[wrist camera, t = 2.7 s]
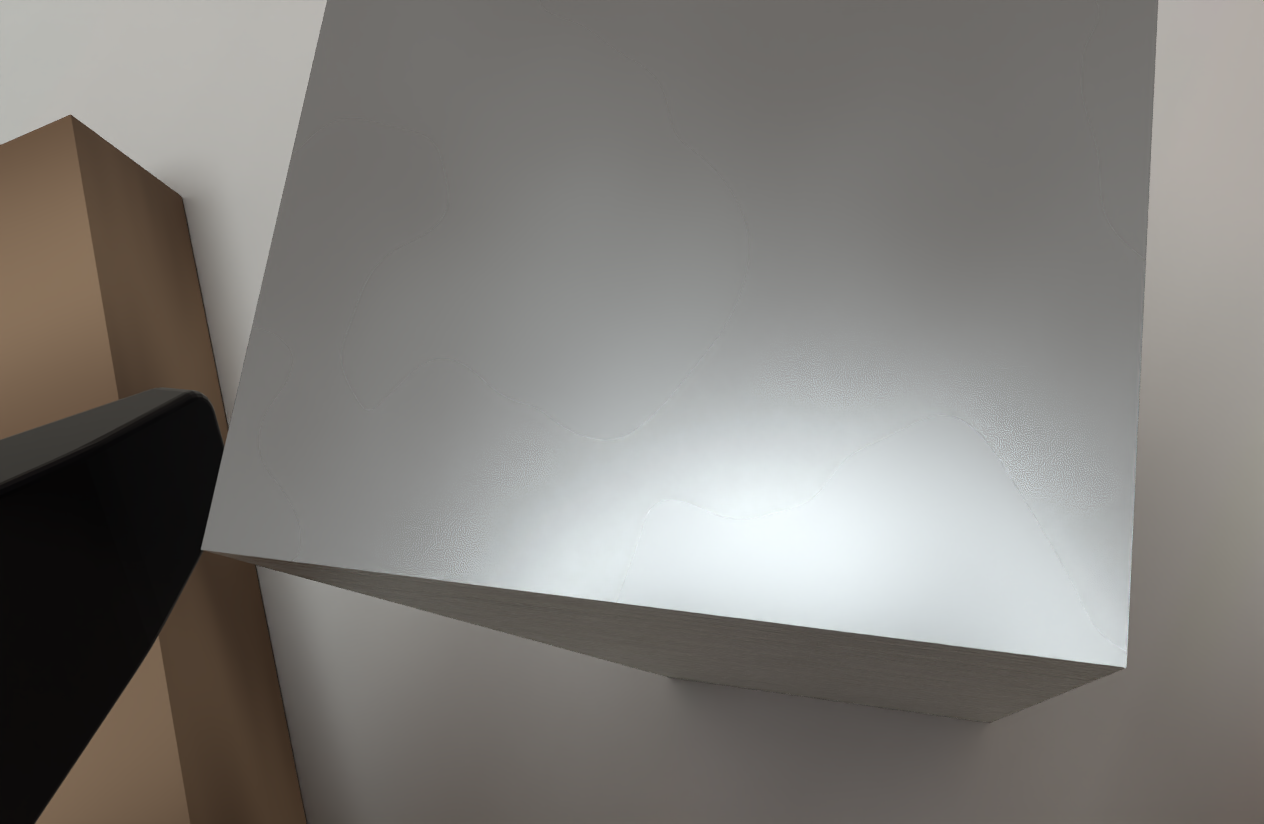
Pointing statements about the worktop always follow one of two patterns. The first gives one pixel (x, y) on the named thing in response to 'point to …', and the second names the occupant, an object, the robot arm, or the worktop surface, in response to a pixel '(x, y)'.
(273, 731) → the wooden square hole board
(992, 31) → the steel peg
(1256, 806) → the worktop surface
